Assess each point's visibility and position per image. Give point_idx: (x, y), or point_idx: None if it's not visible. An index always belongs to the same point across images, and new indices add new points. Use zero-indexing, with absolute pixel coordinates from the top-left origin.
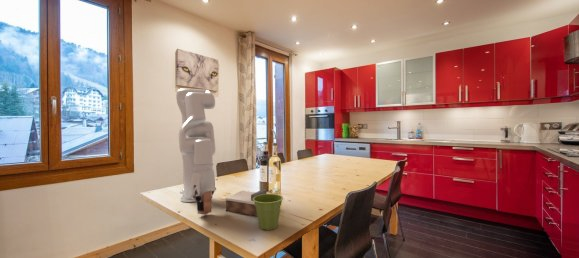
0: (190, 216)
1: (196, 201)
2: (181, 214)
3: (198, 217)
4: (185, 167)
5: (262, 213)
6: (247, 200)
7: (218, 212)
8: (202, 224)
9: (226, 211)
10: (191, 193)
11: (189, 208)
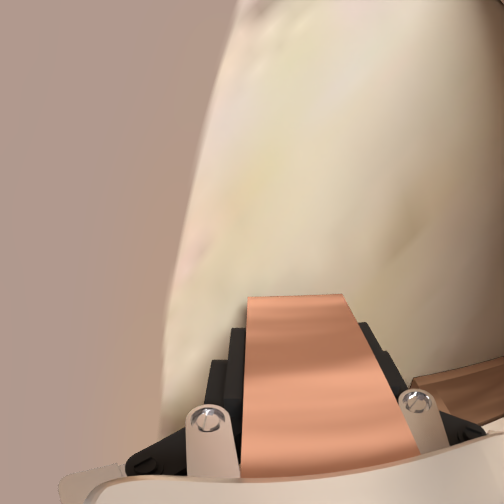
0: (225, 208)
1: (194, 416)
2: (222, 77)
3: (242, 295)
4: None
5: None
6: None
7: (389, 351)
8: (168, 399)
9: (412, 382)
10: (89, 493)
11: (379, 28)
